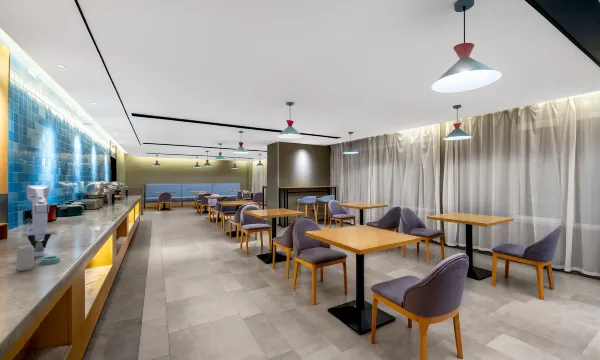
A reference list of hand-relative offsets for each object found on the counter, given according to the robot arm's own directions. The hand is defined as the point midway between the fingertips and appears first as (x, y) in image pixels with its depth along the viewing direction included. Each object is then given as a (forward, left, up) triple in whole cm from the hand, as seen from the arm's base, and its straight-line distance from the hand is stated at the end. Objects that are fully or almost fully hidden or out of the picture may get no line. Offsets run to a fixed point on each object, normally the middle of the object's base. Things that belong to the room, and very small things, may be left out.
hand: (39, 247), depth 152 cm
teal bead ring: (+5, +6, -8) cm, 11 cm away
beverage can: (+14, -3, -8) cm, 16 cm away
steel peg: (0, 0, -2) cm, 2 cm away
